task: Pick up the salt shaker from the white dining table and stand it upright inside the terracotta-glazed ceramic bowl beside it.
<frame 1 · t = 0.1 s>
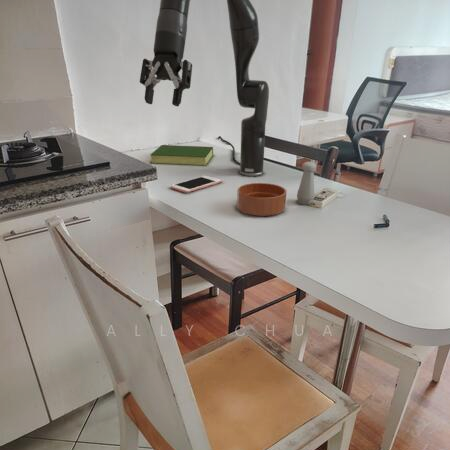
hand: (161, 104, 107), 31 cm above the table, tool tilted 20°, fingers open, 8 cm apart
bowl: (261, 208, 131), on the table
salt shaker: (304, 203, 137), on the table
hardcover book: (182, 159, 185), on the table
cell phone: (196, 185, 152), on the table
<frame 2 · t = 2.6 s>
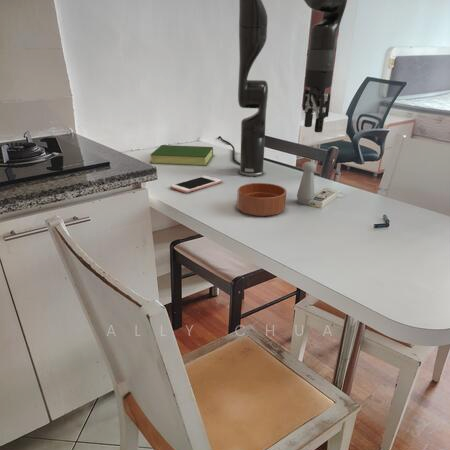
hand: (312, 129, 124), 23 cm above the table, tool pointing down, fingers open, 8 cm apart
nothing on the table moved.
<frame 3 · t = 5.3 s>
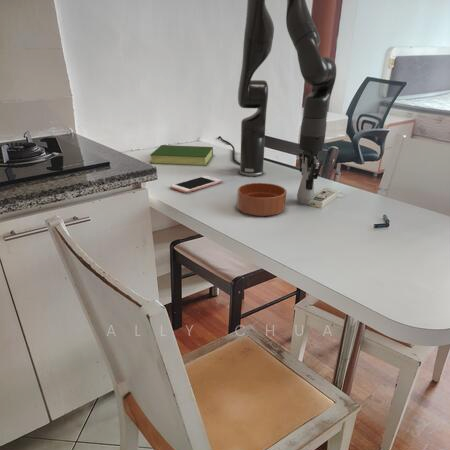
hand: (306, 188, 134), 5 cm above the table, tool pointing down, fingers closed on salt shaker, 3 cm apart
salt shaker: (304, 203, 137), on the table, touching gripper
everything else where it was.
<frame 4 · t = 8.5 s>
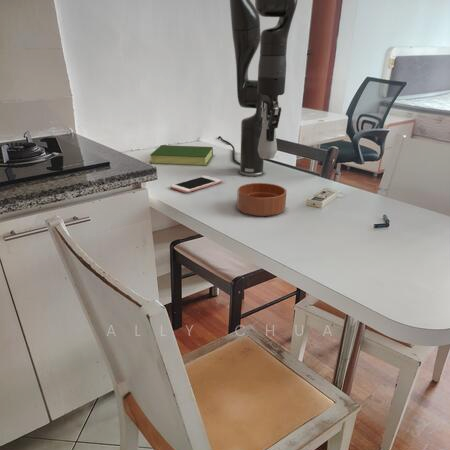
hand: (267, 141, 121), 21 cm above the table, tool pointing down, fingers closed on salt shaker, 3 cm apart
salt shaker: (266, 158, 123), point 16 cm above the table, touching gripper
everything else where it was.
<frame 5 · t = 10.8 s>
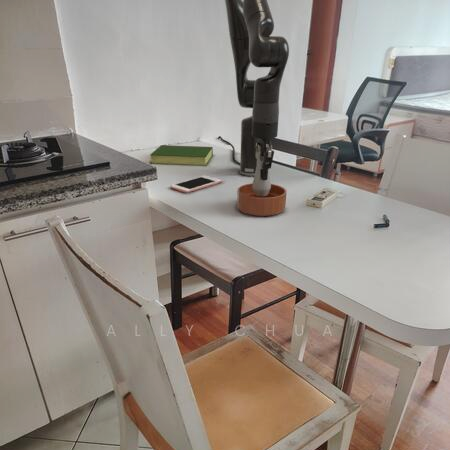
hand: (262, 179, 126), 9 cm above the table, tool pointing down, fingers closed on salt shaker, 3 cm apart
salt shaker: (261, 194, 129), point 5 cm above the table, touching gripper
everything else where it was.
when the fingers open (5 cm above the table, at t = 12.1 s): salt shaker stays where it is, resting on bowl.
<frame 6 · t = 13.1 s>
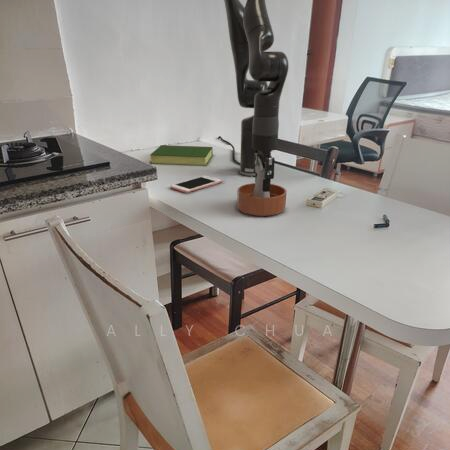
hand: (262, 187, 128), 7 cm above the table, tool pointing down, fingers open, 8 cm apart
salt shaker: (260, 207, 131), resting on bowl
everything else where it was.
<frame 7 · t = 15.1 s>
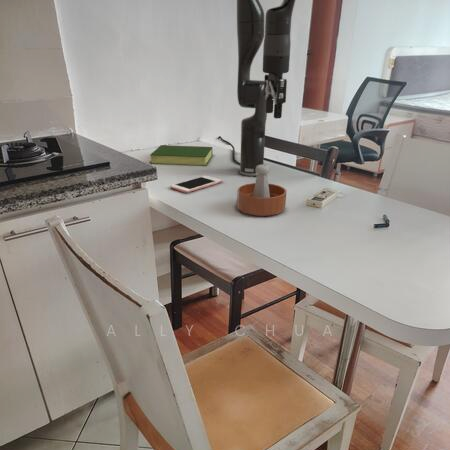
hand: (273, 115, 125), 26 cm above the table, tool pointing down, fingers open, 8 cm apart
nothing on the table moved.
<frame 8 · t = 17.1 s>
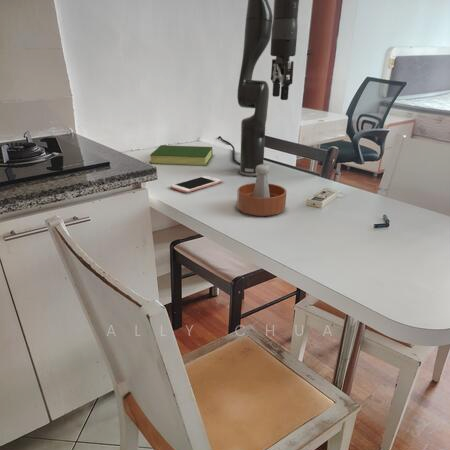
hand: (279, 98, 130), 30 cm above the table, tool pointing down, fingers open, 8 cm apart
nothing on the table moved.
at the end: salt shaker inside the target area in the bowl (0.2 cm from its centre), point 0.4 cm above the bowl's base; salt shaker tilted 0°; the gripper is holding nothing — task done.
